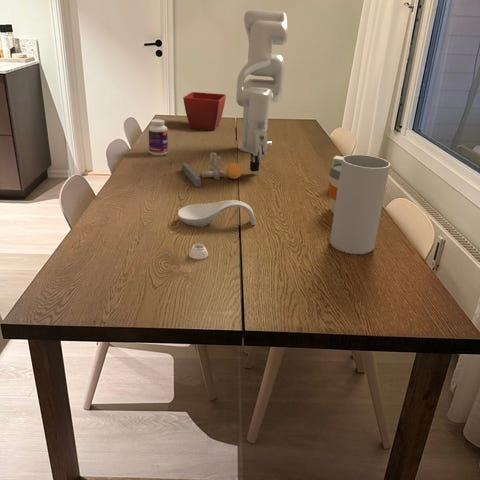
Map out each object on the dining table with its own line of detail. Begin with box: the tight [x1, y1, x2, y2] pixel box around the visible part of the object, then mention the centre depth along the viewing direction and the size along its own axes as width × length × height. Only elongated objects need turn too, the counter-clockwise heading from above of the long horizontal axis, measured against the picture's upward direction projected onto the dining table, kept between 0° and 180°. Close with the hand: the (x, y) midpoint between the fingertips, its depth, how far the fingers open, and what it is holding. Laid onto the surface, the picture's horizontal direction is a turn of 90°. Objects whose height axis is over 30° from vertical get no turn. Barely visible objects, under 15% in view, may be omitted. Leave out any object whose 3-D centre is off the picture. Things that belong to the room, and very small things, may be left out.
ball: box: [225, 162, 243, 180], centre depth 188 cm, size 6×6×6 cm
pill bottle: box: [148, 119, 169, 157], centre depth 211 cm, size 8×8×14 cm
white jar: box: [188, 243, 209, 260], centre depth 129 cm, size 5×3×5 cm
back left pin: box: [213, 155, 222, 181], centre depth 186 cm, size 2×2×8 cm
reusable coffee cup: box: [328, 163, 342, 213], centre depth 161 cm, size 13×13×15 cm
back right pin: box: [209, 152, 217, 171], centre depth 190 cm, size 2×2×8 cm
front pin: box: [200, 170, 225, 179], centre depth 189 cm, size 2×2×8 cm
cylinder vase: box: [329, 154, 391, 255], centre depth 135 cm, size 12×12×25 cm
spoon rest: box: [177, 199, 256, 227], centre depth 149 cm, size 24×12×7 cm, turn 96°
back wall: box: [181, 162, 202, 188], centre depth 186 cm, size 2×20×3 cm, turn 21°
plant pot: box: [183, 91, 227, 132], centre depth 261 cm, size 19×19×17 cm
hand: (254, 170), depth 195 cm, fingers closed
